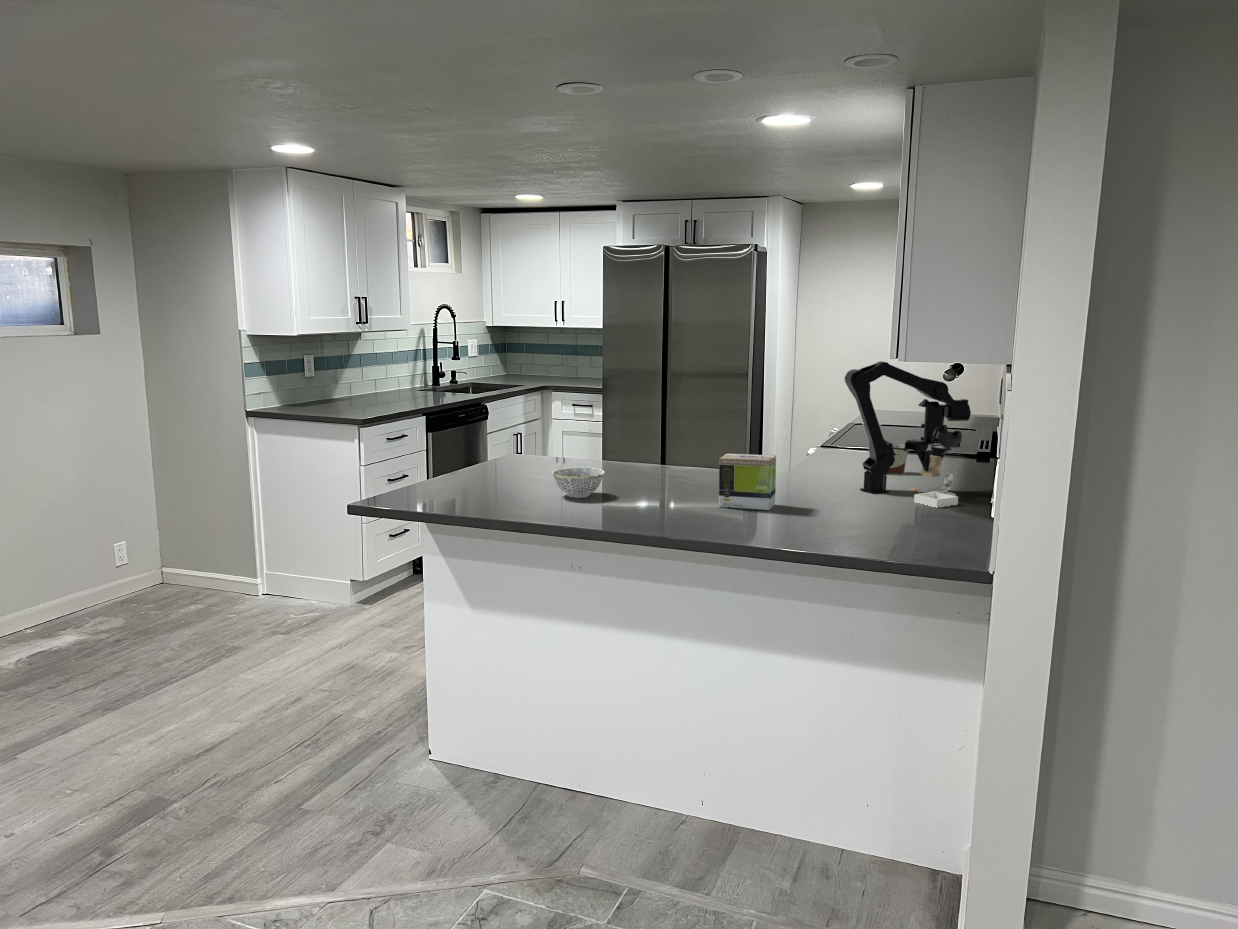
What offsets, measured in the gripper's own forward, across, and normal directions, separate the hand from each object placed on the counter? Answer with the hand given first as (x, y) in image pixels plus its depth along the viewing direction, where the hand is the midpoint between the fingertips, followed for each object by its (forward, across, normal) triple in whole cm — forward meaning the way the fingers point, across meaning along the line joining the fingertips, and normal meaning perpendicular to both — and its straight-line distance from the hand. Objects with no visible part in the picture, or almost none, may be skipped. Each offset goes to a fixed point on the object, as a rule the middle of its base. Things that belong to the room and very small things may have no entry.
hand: (931, 470), depth 283 cm
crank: (+5, 0, -6) cm, 8 cm away
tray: (+6, -13, -14) cm, 20 cm away
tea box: (+7, -64, +10) cm, 65 cm away
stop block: (+2, 0, 0) cm, 2 cm away
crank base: (+6, -4, -4) cm, 9 cm away
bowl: (+7, -101, +46) cm, 111 cm away
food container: (+7, +12, +30) cm, 33 cm away
